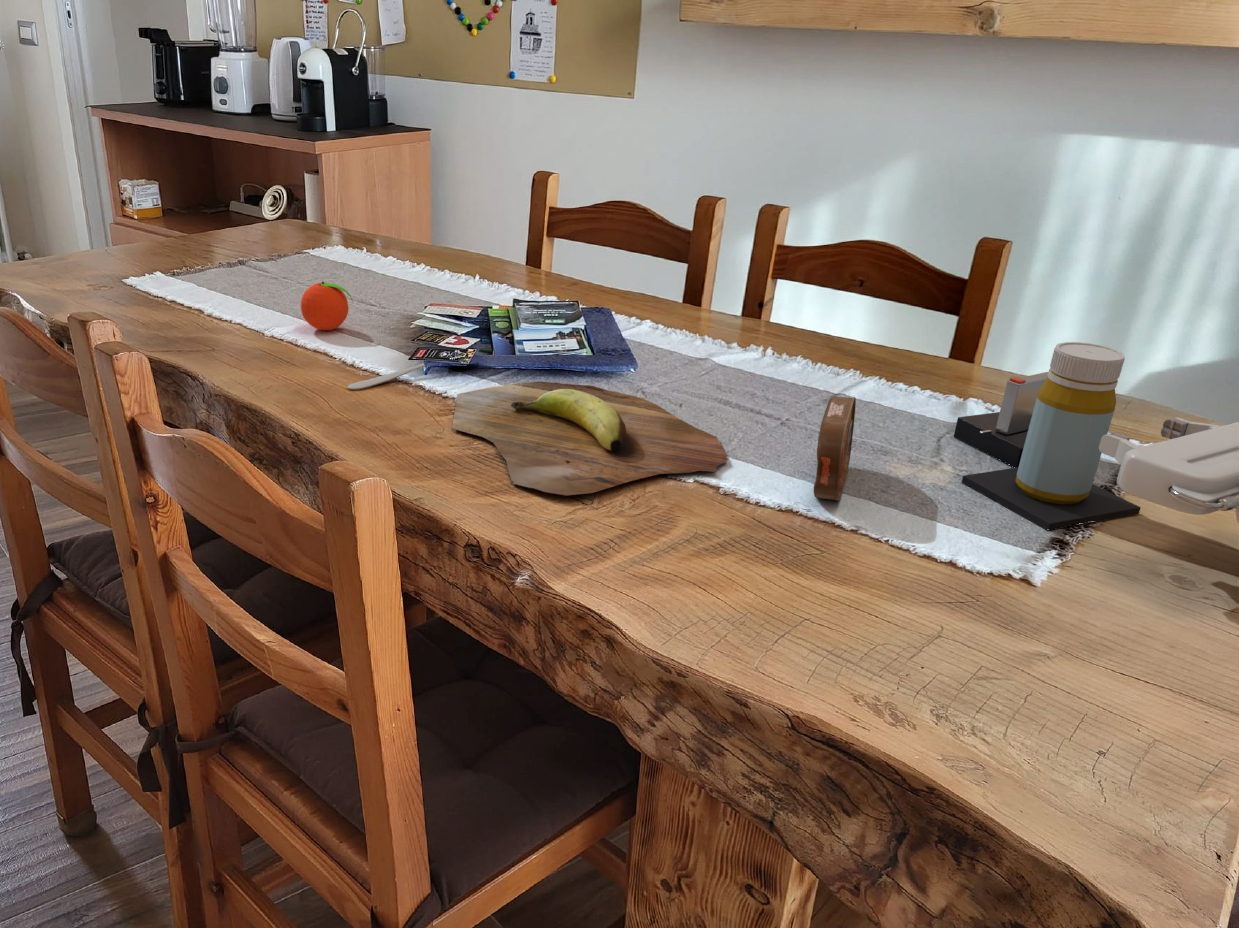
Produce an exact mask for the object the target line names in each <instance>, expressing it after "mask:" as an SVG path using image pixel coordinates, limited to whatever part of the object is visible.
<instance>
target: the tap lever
mask: <svg viewBox="0 0 1239 928" xmlns="http://www.w3.org/2000/svg"><path fill="white" fill-rule="evenodd" d="M1048 372H1049V371H1045V372H1039V373H1036V374H1031V375H1025V376H1021V377H1017V376H1013V377H1009V379H1008V380H1007V381H1006V386H1005V389H1004V393H1003V397H1002V401H1001V405H1000V410H999V412H1000V413H999V417H998V421H997V425H996V429H995V430H996V431H998V432H1000V433H1003V434H1006V435H1009V434H1013V433H1017V432H1021V431H1025V430H1028V429H1029V425H1030V422H1031V418H1032V414H1033V410H1034V406H1035V403H1036V399H1037V395H1038V392H1039V389H1040V388H1041V386H1042V385H1043V383H1044V382H1045V381H1046V379H1047V378H1048Z"/></svg>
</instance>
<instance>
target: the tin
mask: <svg viewBox="0 0 1239 928" xmlns="http://www.w3.org/2000/svg"><path fill="white" fill-rule="evenodd" d="M856 402H857V400H856V397H855V396H853V397H844V396H831V397H830V398H829V400H828V402H827V405H826V408H825V410H824V413H823V416H822V420H821V423H820V427H819V433H818V438H817V446H816V460H817V461H816V463H817V465H816V477H815V481H814V484H813V497H815V498H817V499H823V500H832V501H837V502H840V501H841V500H842V496H843V491H844V488H845V484H846V480H847V475H848V472H849V466H850V460H851V454H852V453H851V452H852V445H853V437H854V436H853V435H854V428H855V419H856V416H855V415H856V406H857V405H856Z"/></svg>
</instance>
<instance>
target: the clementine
mask: <svg viewBox="0 0 1239 928" xmlns="http://www.w3.org/2000/svg"><path fill="white" fill-rule="evenodd" d="M344 292H345V293H346V294H347V295H348V296H349V298H350V299H351V301H352V303H353V304H354V300H353V298H352V295H351V294H350V293H349V291H348V290H347V289H345V288H344V287H343V286H340V285H338V284H336V283H331V282H325V281H321V282H317V283H313V284H312V285H311V286H309V287H308V288H307V289H306V290H305V291H304V293H303V294H302V297H301V299H300V311H301V316H302V317H303V318H304V320H305V321H306V323H307V324H308V325H309V326H311V327H312V328H314V329H316V330H320V331H323V332H324V331H325V332H326V331H331V330H336V329H337V328H339V327H340V326H341V325H343V323H344V322H345V321H346V319H347V317H348V314H349V302H348V298H347V296H346V294H345V293H344Z"/></svg>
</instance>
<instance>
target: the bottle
mask: <svg viewBox="0 0 1239 928" xmlns="http://www.w3.org/2000/svg"><path fill="white" fill-rule="evenodd" d="M1125 360H1126V356H1125V354H1124V353H1123V352H1121V350H1118V349H1116V348H1112V347H1110V346H1106V345H1101V344H1096V343H1090V342H1082V341H1066V342H1060V343H1057V344H1056V345H1055V347H1054V349H1053V352H1052V356H1051V359H1050V365H1049V369H1048V371H1047V372H1048V378H1047V379H1046V381H1045V382H1044V383H1043V385H1042V386H1041V388H1040V389H1039V392H1038V395H1037V399H1036V403H1035V406H1034V410H1033V414H1032V418H1031V422H1030V425H1029V429H1028V433H1027V437H1026V441H1025V445H1024V448H1023V452H1022V456H1021V460H1020V464H1019V468H1018V471H1017V477H1016V483H1017V485H1018V486H1019V488H1020V490H1021V491H1022V492H1023V493H1025V494H1026V495H1028V496H1030V497H1032V498H1034V499H1038V500H1040V501H1044V502H1049V503H1053V504H1074V503H1078V502H1080V501H1082V500H1083V499H1085V498H1086V497H1088V496H1089V493H1090V490H1091V487H1092V484H1094V480H1095V477H1096V475H1097V470H1098V467H1099V464H1100V461H1101V457H1102V454H1103V453H1101V452H1100V451H1099V445H1100V441H1101V438H1102V436H1103V435H1106V434H1109V430H1110V427H1111V423H1112V420H1113V416H1114V413H1115V410H1116V405H1117V396H1116V388H1117V386H1118V383H1119V378H1120V376H1121V372H1122V369H1123V366H1124V362H1125Z"/></svg>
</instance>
